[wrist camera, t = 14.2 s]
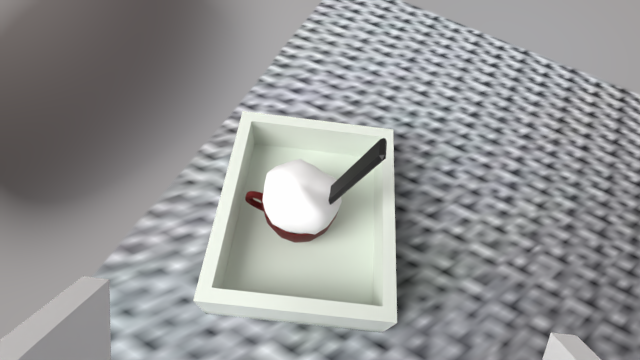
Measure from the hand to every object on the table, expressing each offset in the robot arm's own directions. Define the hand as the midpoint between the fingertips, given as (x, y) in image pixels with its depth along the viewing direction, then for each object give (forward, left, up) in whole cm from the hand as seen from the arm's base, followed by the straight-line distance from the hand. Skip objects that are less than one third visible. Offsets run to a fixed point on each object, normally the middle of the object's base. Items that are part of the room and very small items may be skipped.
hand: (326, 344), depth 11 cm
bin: (+1, -12, -19) cm, 22 cm away
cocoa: (+1, -12, -18) cm, 22 cm away
